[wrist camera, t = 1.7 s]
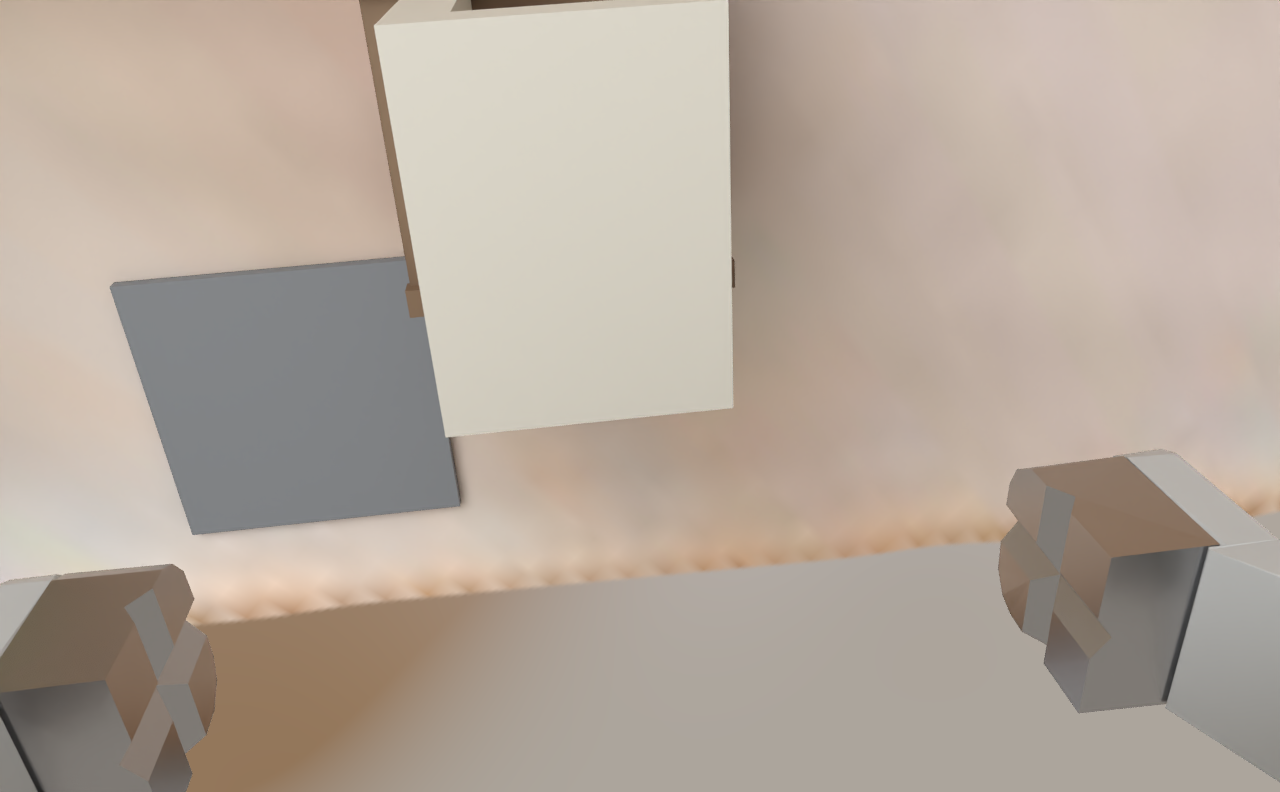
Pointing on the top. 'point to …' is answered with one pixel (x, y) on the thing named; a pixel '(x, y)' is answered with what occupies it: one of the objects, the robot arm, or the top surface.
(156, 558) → the top surface
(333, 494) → the mat
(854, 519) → the top surface
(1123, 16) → the top surface
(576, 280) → the cream square bin
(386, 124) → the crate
